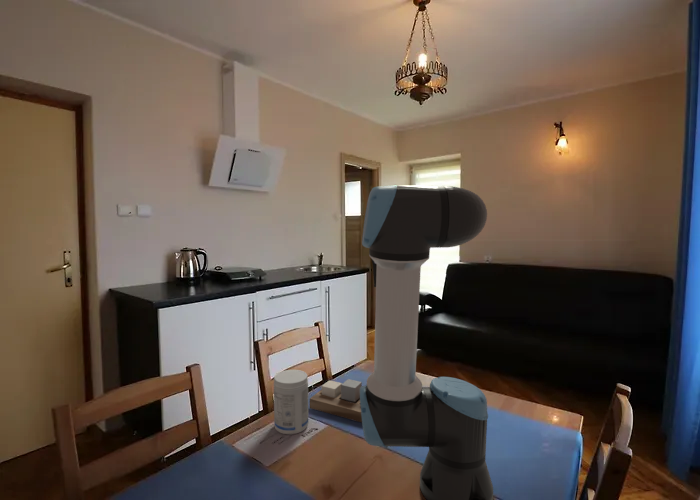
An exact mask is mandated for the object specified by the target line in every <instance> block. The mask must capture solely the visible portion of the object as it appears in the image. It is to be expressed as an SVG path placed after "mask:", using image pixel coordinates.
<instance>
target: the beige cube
mask: <svg viewBox="0 0 700 500" xmlns="http://www.w3.org/2000/svg"><path fill="white" fill-rule="evenodd" d="M342 384H343V383H342V382H339V381H334V380H328V381H327V382H325V383H324V384H322V385H321V389H322V395H325V396H329V397H333V398H336V397H338V396H339V395H340V394H341V385H342Z"/></svg>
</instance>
